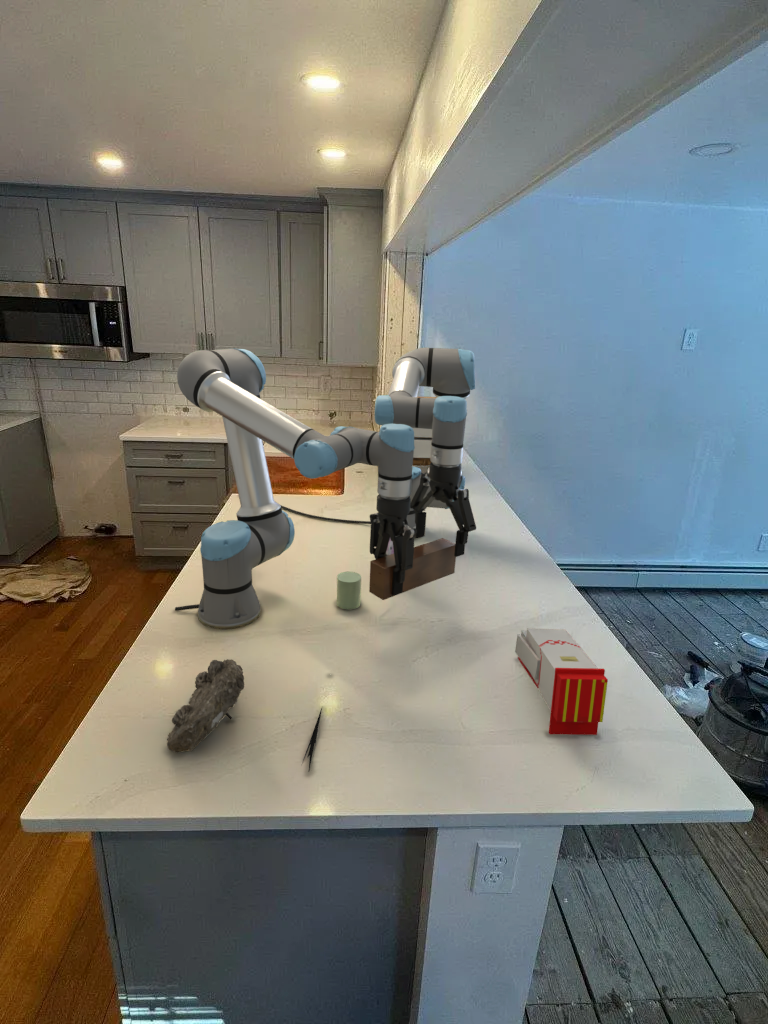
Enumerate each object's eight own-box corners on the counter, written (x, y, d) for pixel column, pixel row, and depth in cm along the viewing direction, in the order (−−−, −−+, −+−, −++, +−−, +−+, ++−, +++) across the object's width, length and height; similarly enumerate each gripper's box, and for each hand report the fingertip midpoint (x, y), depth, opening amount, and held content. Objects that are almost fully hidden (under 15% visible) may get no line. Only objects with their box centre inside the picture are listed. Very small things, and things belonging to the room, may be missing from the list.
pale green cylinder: (331, 602, 152) (332, 575, 149) (350, 595, 156) (351, 569, 153) (346, 612, 147) (346, 584, 145) (365, 604, 151) (366, 577, 149)
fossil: (192, 660, 117) (244, 628, 112) (224, 691, 120) (276, 661, 115) (142, 746, 98) (202, 712, 93) (182, 779, 101) (242, 748, 96)
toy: (561, 612, 132) (617, 675, 103) (556, 665, 135) (608, 741, 106) (510, 611, 132) (551, 674, 102) (505, 664, 134) (544, 741, 105)
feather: (331, 679, 122) (336, 673, 122) (307, 777, 96) (313, 769, 95) (324, 675, 122) (329, 669, 121) (298, 772, 95) (304, 764, 95)
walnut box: (383, 600, 129) (384, 568, 127) (369, 591, 133) (370, 560, 130) (454, 573, 144) (457, 544, 142) (440, 566, 148) (442, 537, 145)
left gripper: (355, 487, 129) (352, 579, 137) (409, 509, 117) (403, 609, 125) (380, 482, 134) (376, 571, 142) (434, 503, 121) (427, 599, 129)
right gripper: (398, 453, 140) (394, 533, 148) (475, 479, 123) (466, 567, 130) (420, 449, 145) (415, 526, 152) (497, 473, 127) (487, 559, 135)
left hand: (388, 588), depth 133 cm, fingers closed on walnut box, 5 cm apart
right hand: (438, 545), depth 141 cm, fingers open, 13 cm apart
